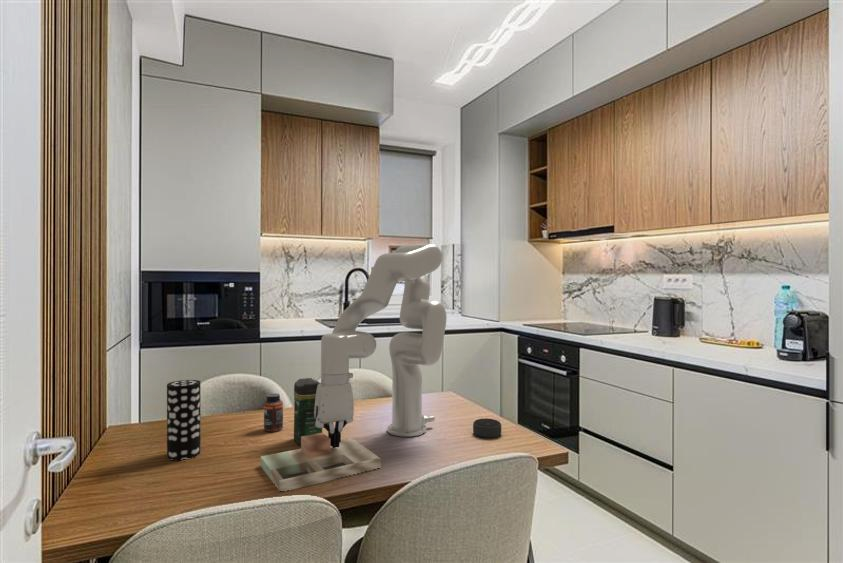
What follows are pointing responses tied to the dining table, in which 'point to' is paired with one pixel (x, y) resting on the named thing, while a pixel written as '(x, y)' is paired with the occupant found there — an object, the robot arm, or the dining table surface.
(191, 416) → the white-spotted black cylinder
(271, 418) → the supplement bottle
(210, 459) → the dining table surface
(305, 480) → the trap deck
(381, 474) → the dining table surface
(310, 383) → the coffee jar
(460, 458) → the dining table surface
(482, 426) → the smart speaker
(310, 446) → the block
